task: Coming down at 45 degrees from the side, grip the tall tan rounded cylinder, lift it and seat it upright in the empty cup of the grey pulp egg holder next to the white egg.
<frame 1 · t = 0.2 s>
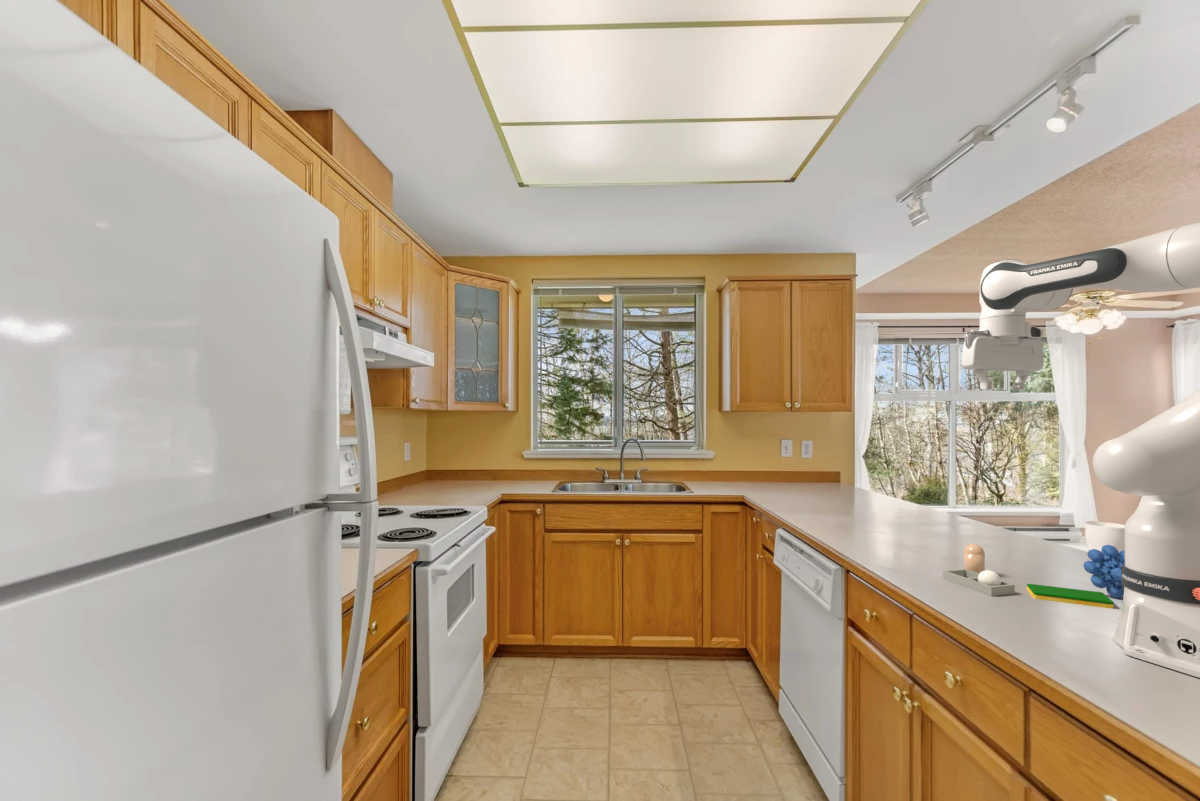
hand: (1002, 389, 130), 48 cm above the counter, tool pointing down, fingers open, 8 cm apart
carton: (977, 587, 134), on the counter
white egg: (989, 590, 131), resting on carton
cup: (1107, 570, 149), on the counter
grapes: (1117, 600, 126), on the counter
tan rounded cylinder: (974, 575, 144), on the counter
dish sponge: (1068, 603, 125), on the counter
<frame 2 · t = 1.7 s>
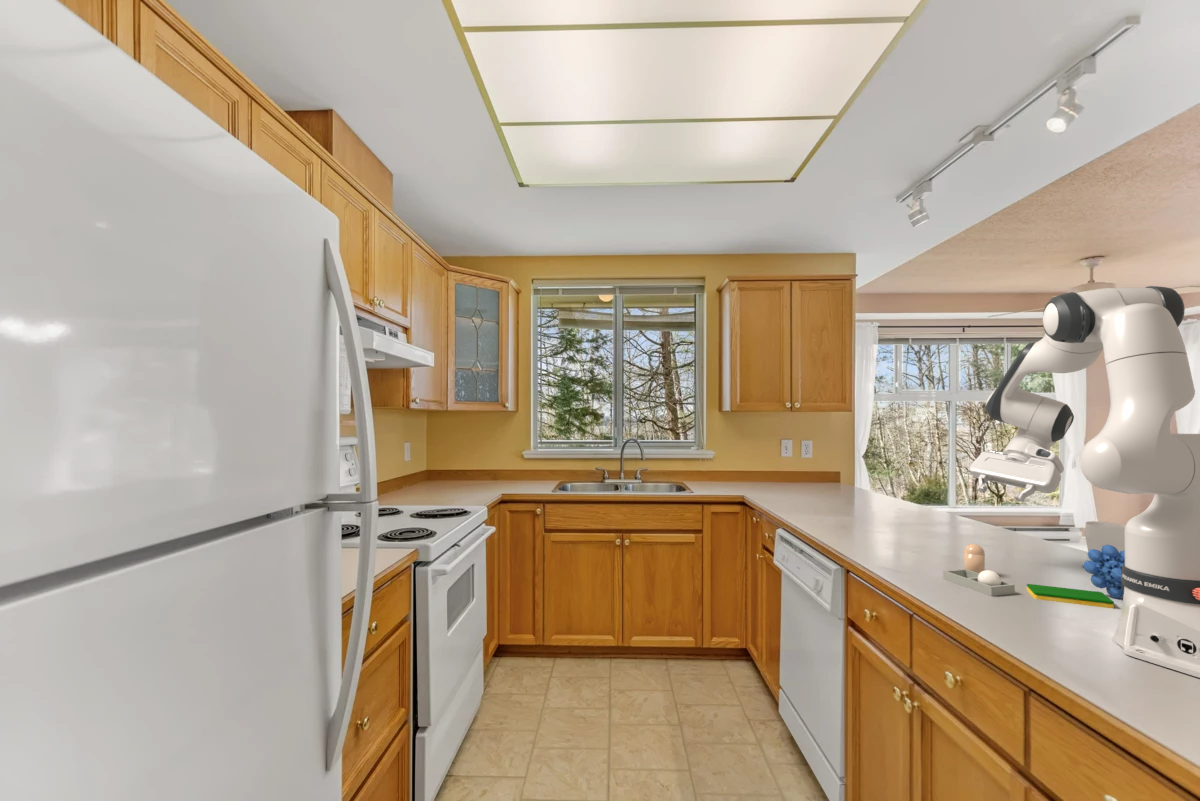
hand: (998, 495, 147), 20 cm above the counter, tool tilted 40°, fingers open, 8 cm apart
nothing on the counter moved.
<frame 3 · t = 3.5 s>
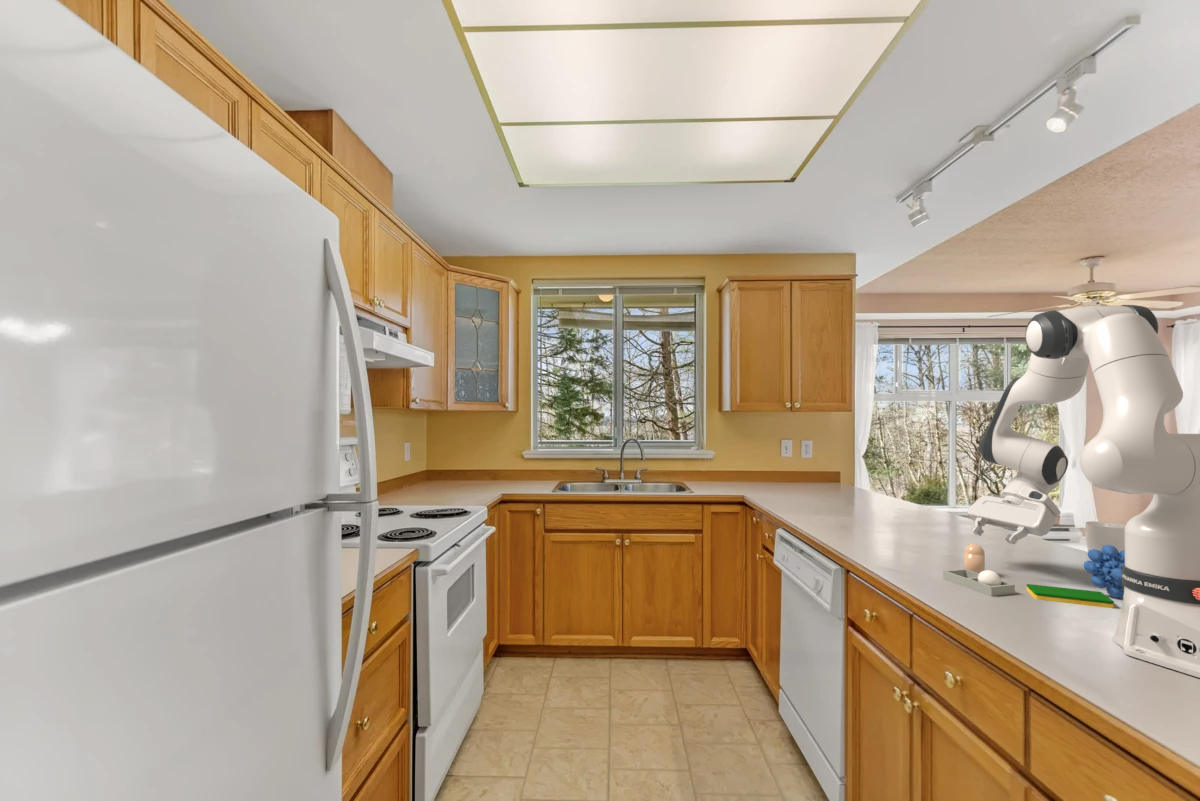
hand: (992, 537, 145), 9 cm above the counter, tool tilted 45°, fingers open, 8 cm apart
nothing on the counter moved.
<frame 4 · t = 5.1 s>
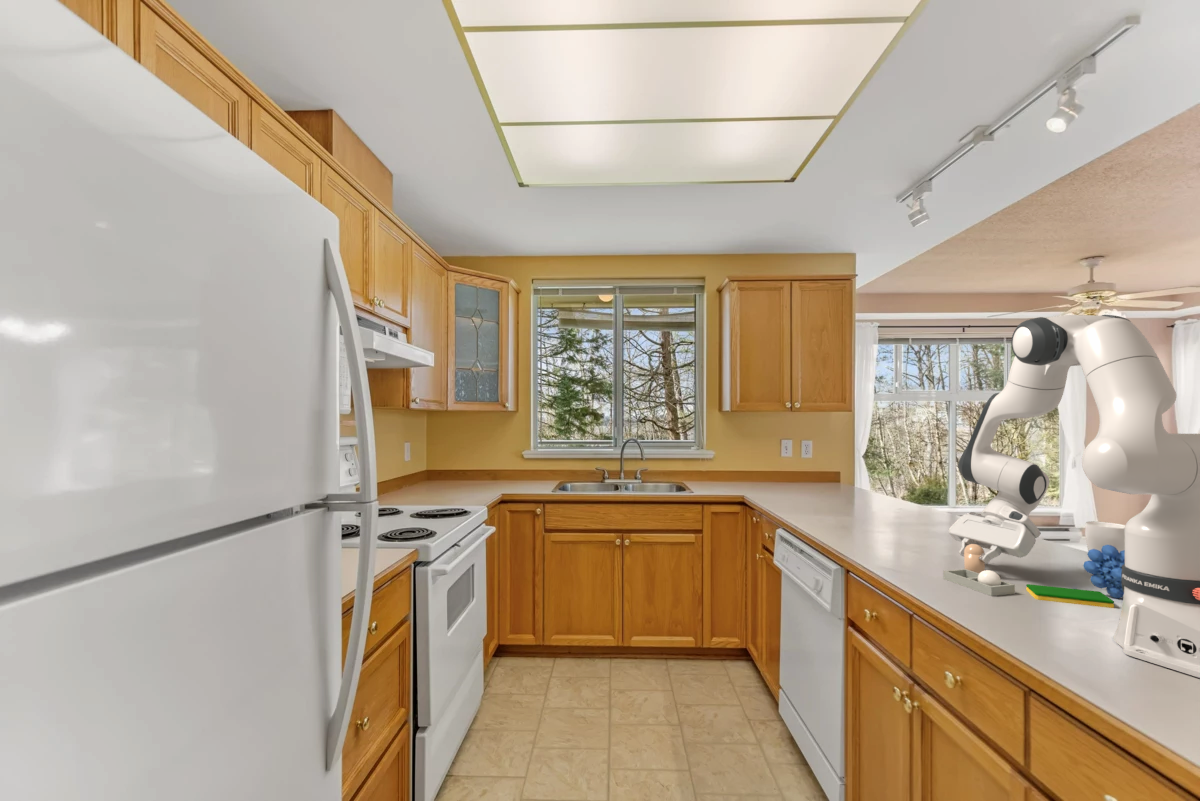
hand: (972, 558, 143), 5 cm above the counter, tool tilted 45°, fingers closed on tan rounded cylinder, 4 cm apart
tan rounded cylinder: (974, 575, 144), on the counter, touching gripper
everything else where it was.
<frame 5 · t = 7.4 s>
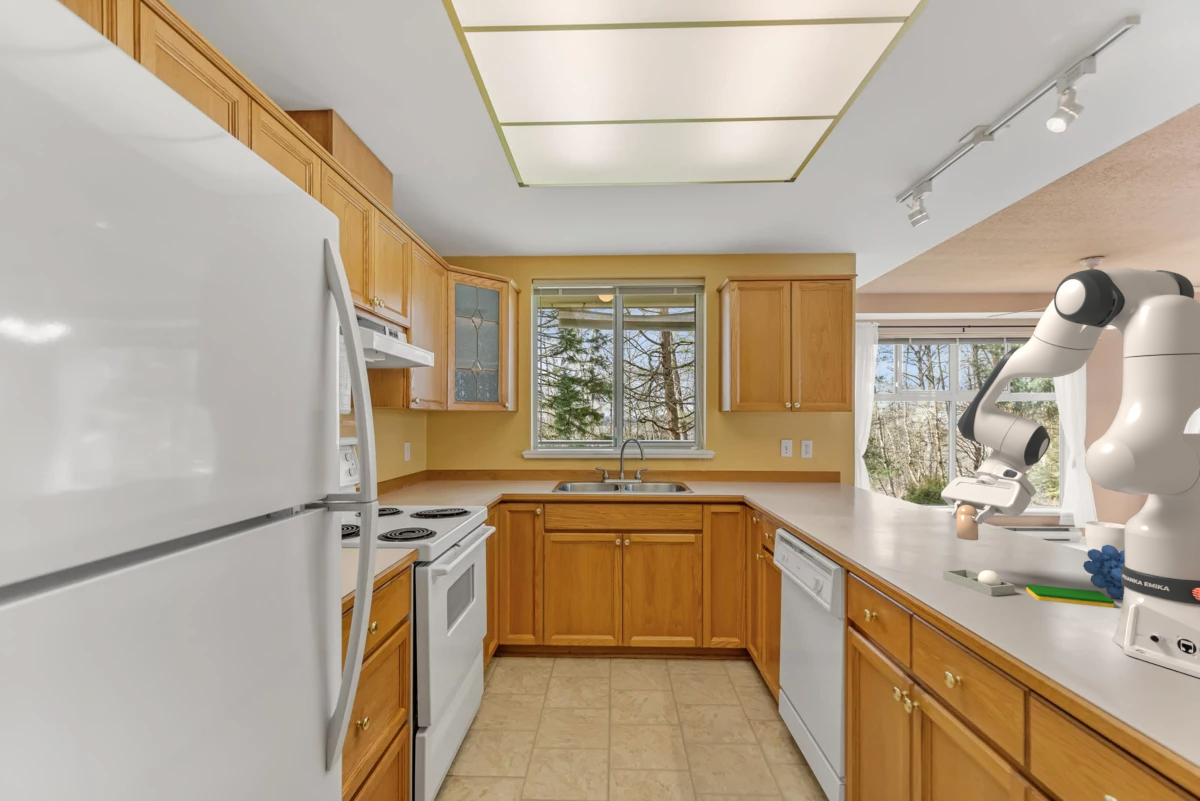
hand: (965, 519, 137), 16 cm above the counter, tool tilted 45°, fingers closed on tan rounded cylinder, 4 cm apart
tan rounded cylinder: (967, 538, 137), point 11 cm above the counter, touching gripper
everything else where it was.
when the fingers open (7 cm above the counter, at t = 9.7 s): tan rounded cylinder drops 1 cm, resting on carton.
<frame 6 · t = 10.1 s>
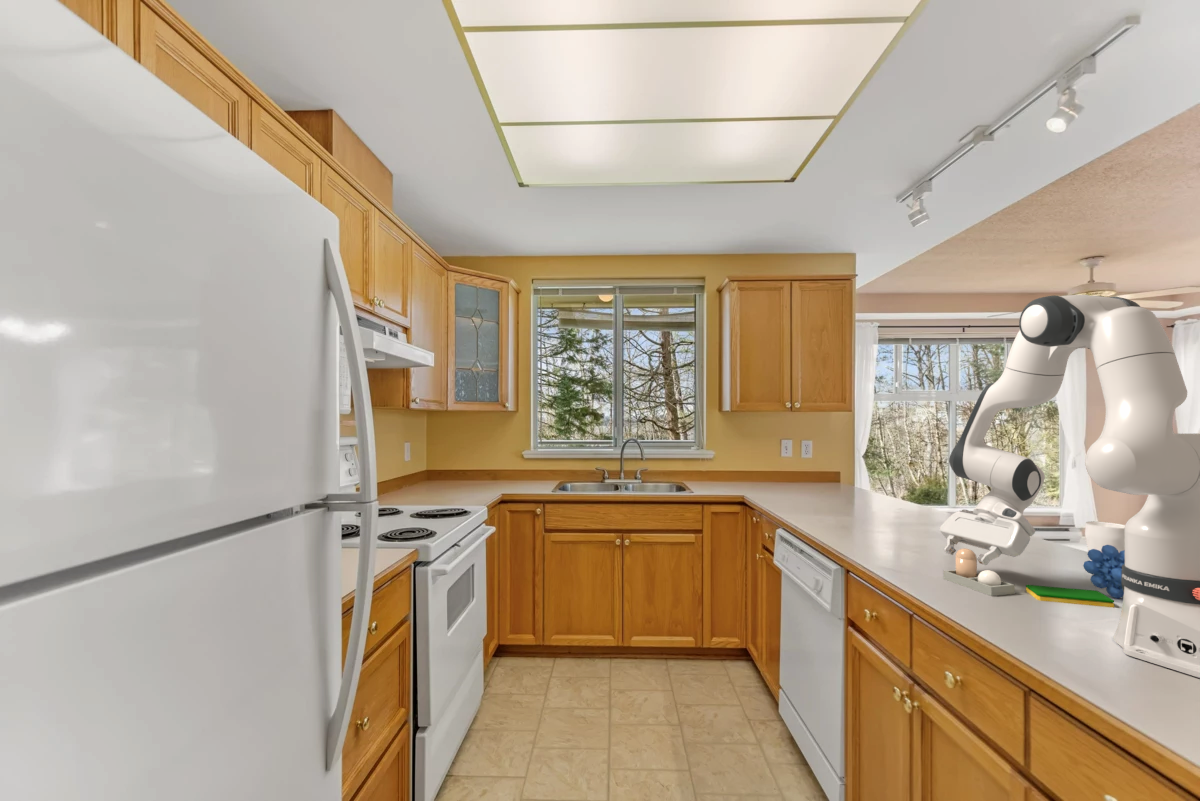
hand: (964, 557, 137), 7 cm above the counter, tool tilted 45°, fingers open, 8 cm apart
tan rounded cylinder: (966, 581, 137), point 1 cm above the counter, touching carton
everything else where it was.
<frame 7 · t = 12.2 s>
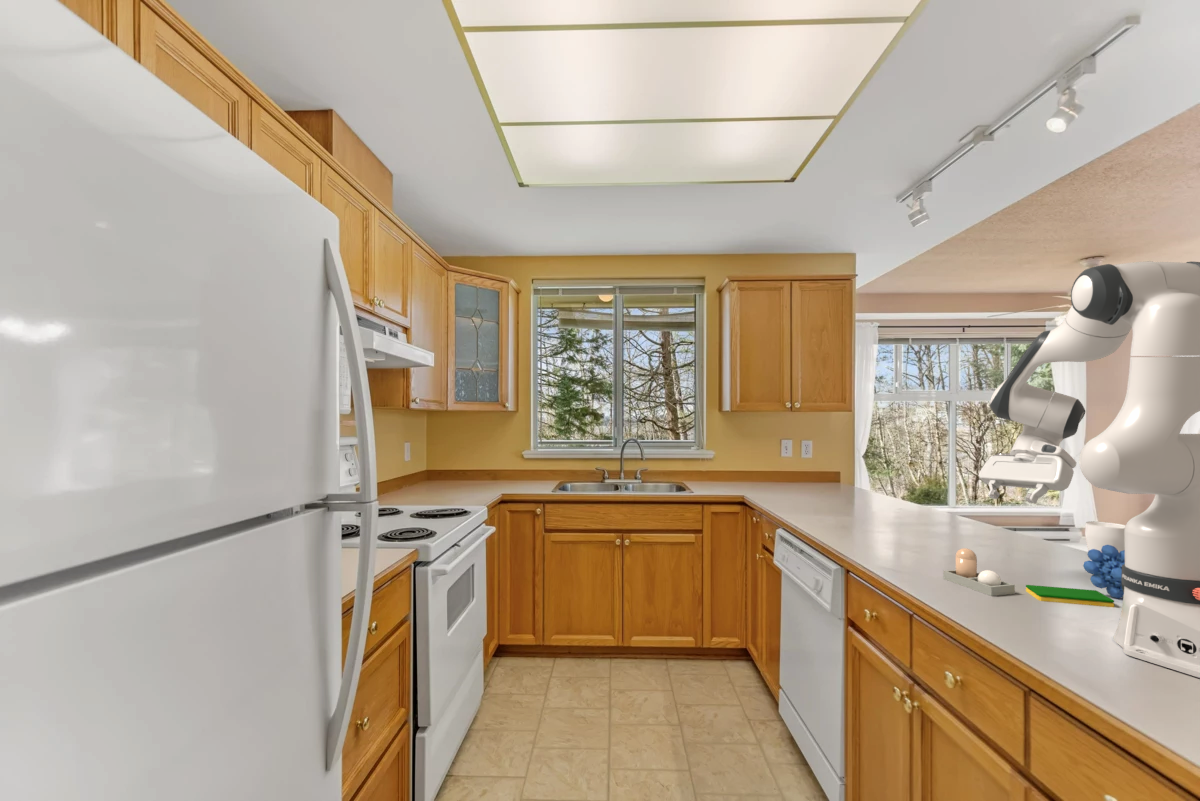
hand: (1010, 499, 138), 21 cm above the counter, tool tilted 35°, fingers open, 8 cm apart
nothing on the counter moved.
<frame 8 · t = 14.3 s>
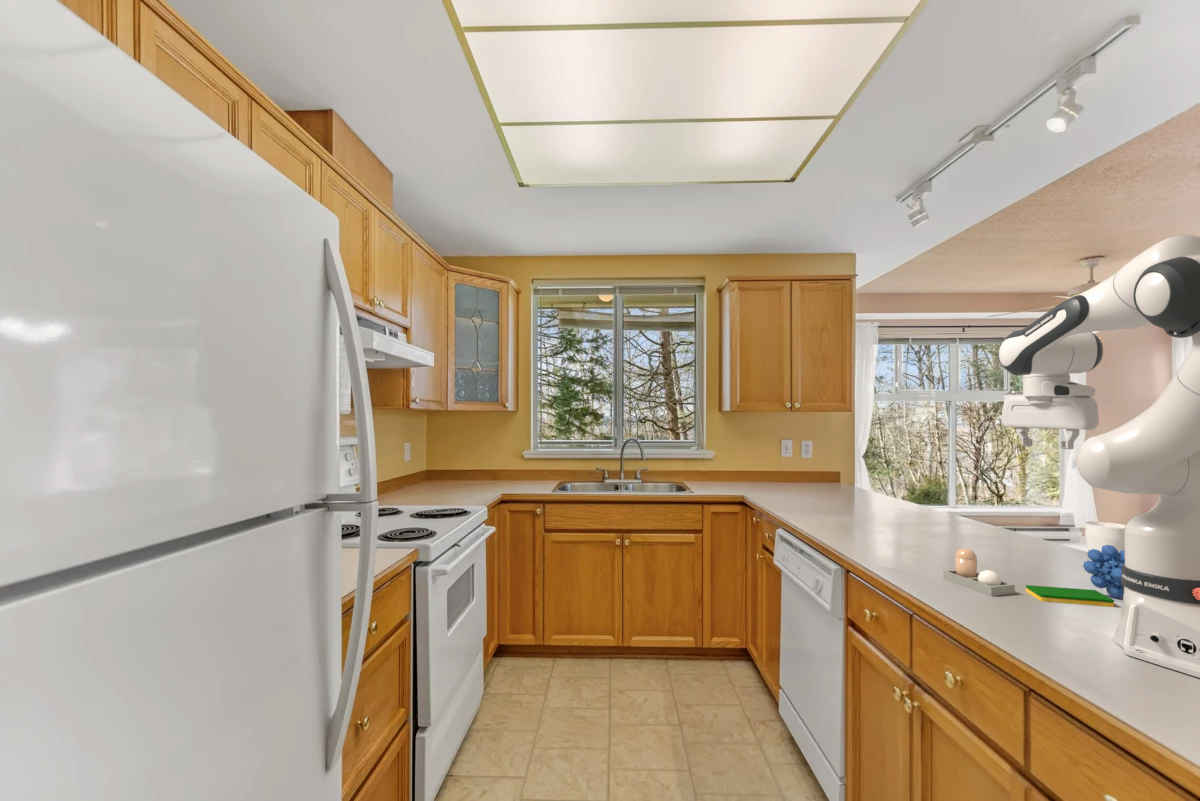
hand: (1046, 447, 132), 34 cm above the counter, tool pointing down, fingers open, 8 cm apart
nothing on the counter moved.
at the end: tan rounded cylinder 0.0 cm from the target spot on the carton, point 0.5 cm above the carton's base; tan rounded cylinder tilted 1°; the gripper is holding nothing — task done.
